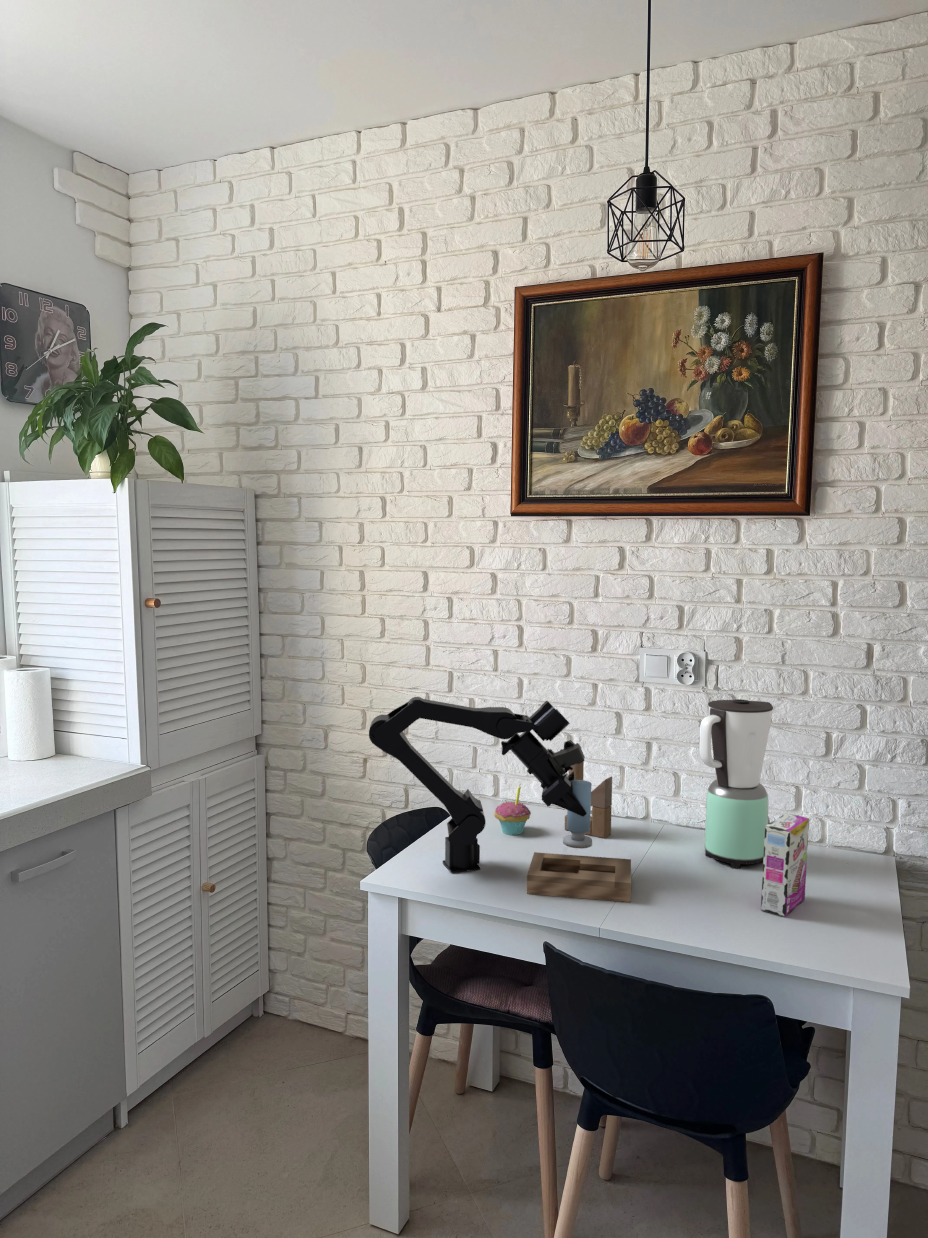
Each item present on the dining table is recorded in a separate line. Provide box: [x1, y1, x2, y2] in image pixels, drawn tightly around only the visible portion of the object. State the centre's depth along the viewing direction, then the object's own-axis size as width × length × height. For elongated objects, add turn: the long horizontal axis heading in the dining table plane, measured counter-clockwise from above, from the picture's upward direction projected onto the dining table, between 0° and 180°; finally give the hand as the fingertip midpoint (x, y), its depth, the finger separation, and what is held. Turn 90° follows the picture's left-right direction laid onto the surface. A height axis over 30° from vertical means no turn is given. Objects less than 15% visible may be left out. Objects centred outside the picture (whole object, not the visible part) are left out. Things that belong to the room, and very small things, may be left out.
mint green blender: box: [698, 698, 774, 869], centre depth 189 cm, size 19×13×35 cm
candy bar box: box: [760, 813, 810, 918], centre depth 165 cm, size 11×5×16 cm, turn 141°
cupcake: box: [494, 783, 532, 836], centre depth 207 cm, size 9×8×12 cm
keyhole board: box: [526, 851, 632, 903], centre depth 175 cm, size 20×13×4 cm, turn 79°
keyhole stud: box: [562, 779, 593, 849], centre depth 183 cm, size 6×6×13 cm
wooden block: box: [564, 761, 613, 839], centre depth 207 cm, size 4×11×18 cm, turn 55°
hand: (585, 811), depth 182 cm, fingers closed on keyhole stud, 5 cm apart
